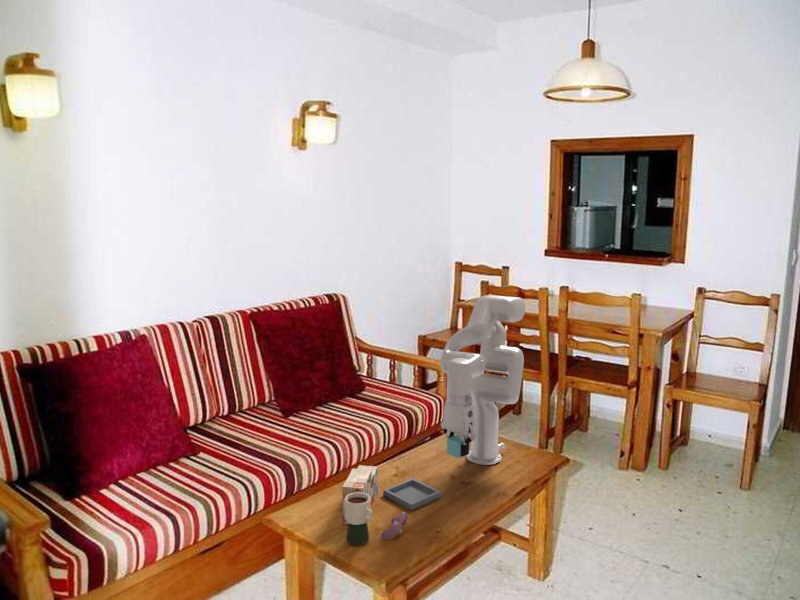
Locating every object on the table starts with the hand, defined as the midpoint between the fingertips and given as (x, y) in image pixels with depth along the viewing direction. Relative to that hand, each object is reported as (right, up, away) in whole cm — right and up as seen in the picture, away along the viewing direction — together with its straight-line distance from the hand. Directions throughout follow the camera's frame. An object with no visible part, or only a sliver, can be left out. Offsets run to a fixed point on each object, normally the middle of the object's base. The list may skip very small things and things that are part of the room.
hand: (458, 451), depth 207 cm
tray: (-14, -15, +1) cm, 21 cm away
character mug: (-30, -19, -25) cm, 44 cm away
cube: (0, -1, 0) cm, 1 cm away
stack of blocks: (-30, -16, -6) cm, 35 cm away
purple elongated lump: (-20, -19, -20) cm, 34 cm away
